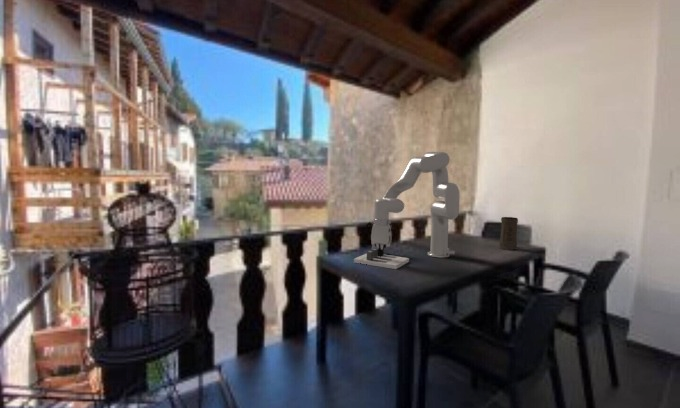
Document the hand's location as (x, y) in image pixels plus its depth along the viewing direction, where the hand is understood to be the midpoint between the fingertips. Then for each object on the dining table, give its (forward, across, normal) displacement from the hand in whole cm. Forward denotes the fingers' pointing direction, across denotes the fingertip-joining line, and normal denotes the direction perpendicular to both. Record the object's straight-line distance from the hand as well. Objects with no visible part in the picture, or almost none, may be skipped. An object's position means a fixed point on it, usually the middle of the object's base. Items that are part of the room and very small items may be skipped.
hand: (380, 256), depth 224 cm
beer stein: (+4, -52, -79) cm, 94 cm away
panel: (+3, -1, 0) cm, 3 cm away
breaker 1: (+1, +3, +6) cm, 7 cm away
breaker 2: (+1, +3, 0) cm, 4 cm away
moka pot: (+3, +9, -17) cm, 20 cm away
